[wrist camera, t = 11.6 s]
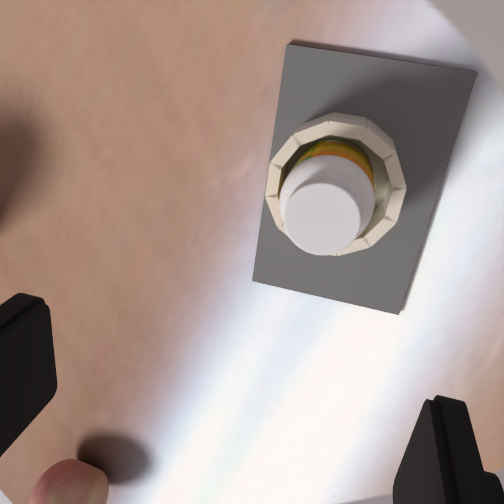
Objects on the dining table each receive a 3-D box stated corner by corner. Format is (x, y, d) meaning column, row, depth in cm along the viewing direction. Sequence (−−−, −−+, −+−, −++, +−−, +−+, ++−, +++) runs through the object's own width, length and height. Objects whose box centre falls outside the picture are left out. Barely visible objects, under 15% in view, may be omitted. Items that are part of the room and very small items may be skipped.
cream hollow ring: (288, 104, 31) (277, 111, 27) (415, 125, 30) (421, 136, 26) (270, 219, 35) (258, 239, 31) (382, 242, 34) (383, 266, 30)
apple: (50, 444, 54) (1, 505, 47) (101, 438, 51) (57, 502, 44) (81, 492, 56) (39, 557, 49) (131, 489, 53) (95, 557, 46)
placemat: (287, 44, 30) (286, 44, 30) (476, 71, 28) (477, 71, 28) (253, 278, 38) (252, 281, 37) (398, 312, 36) (398, 314, 36)
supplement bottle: (312, 124, 31) (291, 151, 22) (387, 153, 30) (395, 192, 22) (284, 195, 33) (255, 244, 24) (353, 223, 33) (349, 283, 24)
